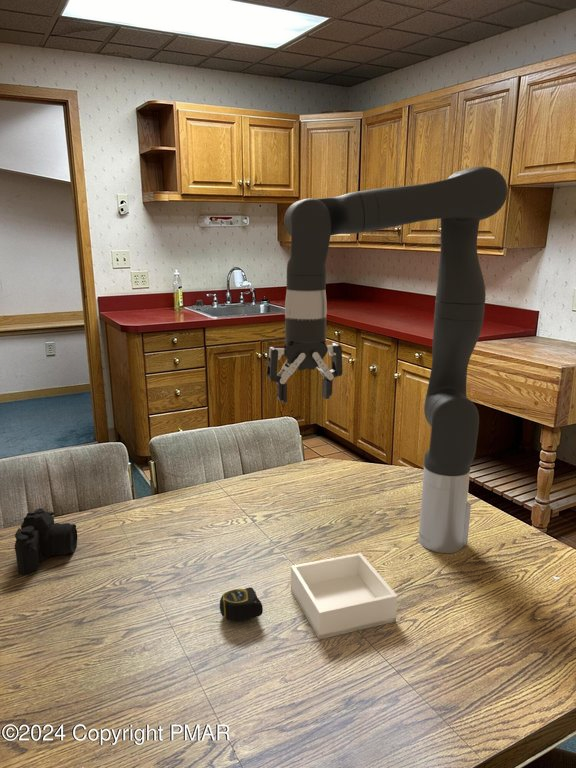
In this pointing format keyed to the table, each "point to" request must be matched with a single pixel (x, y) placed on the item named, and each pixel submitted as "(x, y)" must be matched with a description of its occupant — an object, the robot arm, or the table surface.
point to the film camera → (42, 540)
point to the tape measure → (240, 605)
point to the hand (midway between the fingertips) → (304, 400)
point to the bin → (342, 595)
